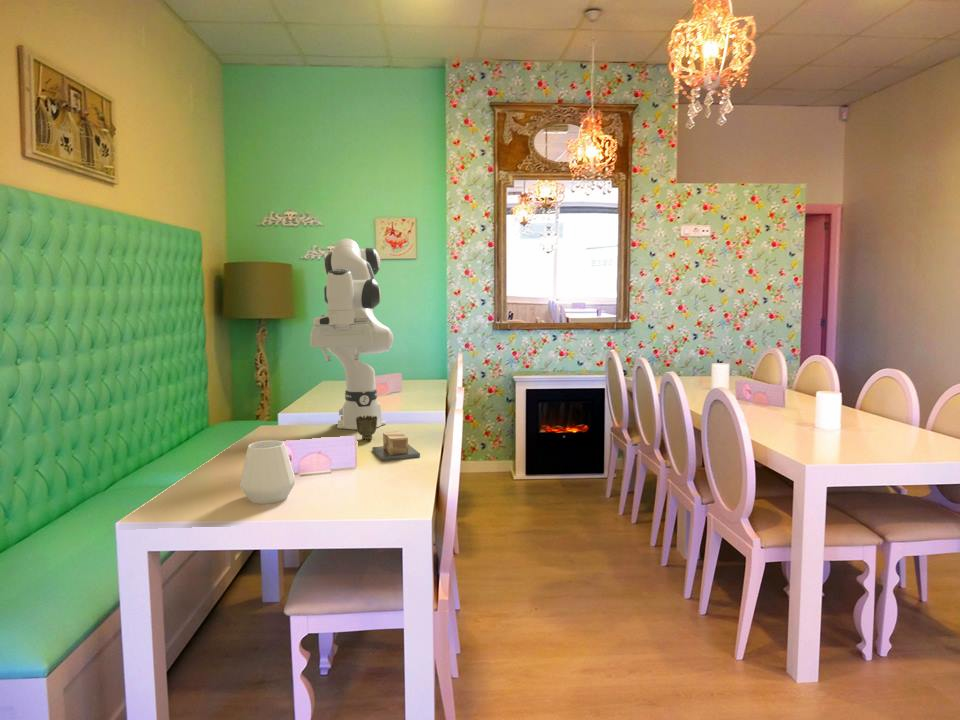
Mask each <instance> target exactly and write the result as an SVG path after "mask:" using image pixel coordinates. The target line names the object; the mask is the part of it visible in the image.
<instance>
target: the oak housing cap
mask: <svg viewBox="0 0 960 720" xmlns="http://www.w3.org/2000/svg"><path fill="white" fill-rule="evenodd" d="M408 438H409V437H408V436H407V435H406V434H404V433H403V432H402V431H400V430H396V431H395V430H394V431H387V432H385V431H384V432H382V441H383V444H382V446H383V448H384V449H385V450H386V451H388V452H389V453H390V454H391V455H393V454H403V453H408V444H409V439H408Z"/></svg>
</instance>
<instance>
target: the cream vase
mask: <svg viewBox="0 0 960 720" xmlns="http://www.w3.org/2000/svg"><path fill="white" fill-rule="evenodd" d="M295 483H296V476H295V473H294V469H293V466H292V463H291V460H290V457H289V453H288V450H287V447H286V444H285V442H283V441H281V440H273V439H272V440H271V439H270V440H260V441H255V442H252V443H250V444H248V446H247V450H246V455H245V459H244V464H243V468H242V473H241V478H240V482H239V487H240V489H241V490H242V492H243V494H244V495H245V497H247V499H248V500H249V501H250V502H251V503H254V504H259V505H260V504H261V505H262V504H263V505H265V504H266V505H267V504H273V503H277V502H281V501H284V500H286V499H287V498H288V496H289V495H290V494H291V491H292V489H293V488H294V486H295Z"/></svg>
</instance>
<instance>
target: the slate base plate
mask: <svg viewBox="0 0 960 720" xmlns="http://www.w3.org/2000/svg"><path fill="white" fill-rule="evenodd" d="M371 451H372V452H373V453H374V455H376V456H377V458H379V459H380V460H381V461H382V462H387V461H388V462H389V461H396V460H405V459H406V460H407V459H414V458H421V453H420V452H419V451H418V450H417V449H415V448H414V447H412V446H411V445H410V444H409V443H408V453H403V454H393V455H391V454H390V453H389V452H388V451H386V450H385V449H384V448H383V445H382V446H381V445H380V446H373V447H372V448H371Z"/></svg>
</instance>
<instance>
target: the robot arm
mask: <svg viewBox="0 0 960 720" xmlns="http://www.w3.org/2000/svg"><path fill="white" fill-rule="evenodd" d="M333 247H334V248H333V250H332V251H331V252H330V253H328V254H327V255H326V256H325V257H324V261H323V269H324V271H325V273H326V275H327V277H326V285H325V286H324V288H323V292H324V294H323V295H324V302H325V303H326V304H327V309H326V313H325V314H322V315H320V316H318V317H317V316H316V317H315V318H313V324H314V326H312V327H311V330H310V337H309V344H310V347H311V348H313V349H321V353H323V355H324V357H325V360H324V361H325V362H331V361H332V360H331V355H328V354H327V351H328V352H329V353H330V354H332V355H334V356H335V357H336V359H338V360H339V362H340V364H341V365H342V367H343V371H344V376H345V386H346V387H345V393H344V399H345V401H344V403H343V406H342V408H339V409H338V416H340V418H338V419H337V426H336V428H337V429H344V430H345V429H346V430H358V429H357V423H356V419H357V417H359V416H361V417H363V416H365V418H366V416H367V415H368V416H371V417H373V416H374V417H375V416H377V426H376V428H378V427H381V426H383V425H387V421H386V420H384V419H383V417H382V416H383V414H382V404H381V403H380V402H379V401H378V391H377V389H376V371H375V369H374V368H373V366H371V365H370V364H368V363H366V362H364V361H361V360H360V355H370V354H371V355H373V354H375V355H377V354H382V353H385V352H389V351H390V350H391V349H392V347H393V346H394V338H395V337H394V334H393V331H392V330H391V328H389V326H386V325H384V324H383V323H382V322H381V321H379V320H378V319H377V317H376V316H375V314H374V310H373V309H374V308H376V307H377V306H378V305H379V304H381V303H380V301H381V299H382V293H381V292H382V291H381V288H380V286H379V283H378V281H377V279H376V275H377V273H379V271H380V267H381V257H380V255H379V253H378V251H377V250H376V249H375V248H372V247H366V248H360V247H359V244H358V243H357V242H356V241H355V240H353V239H351V238H342V239H340V240H339V241H338V242H337V243H336V244H335V246H333Z"/></svg>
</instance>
